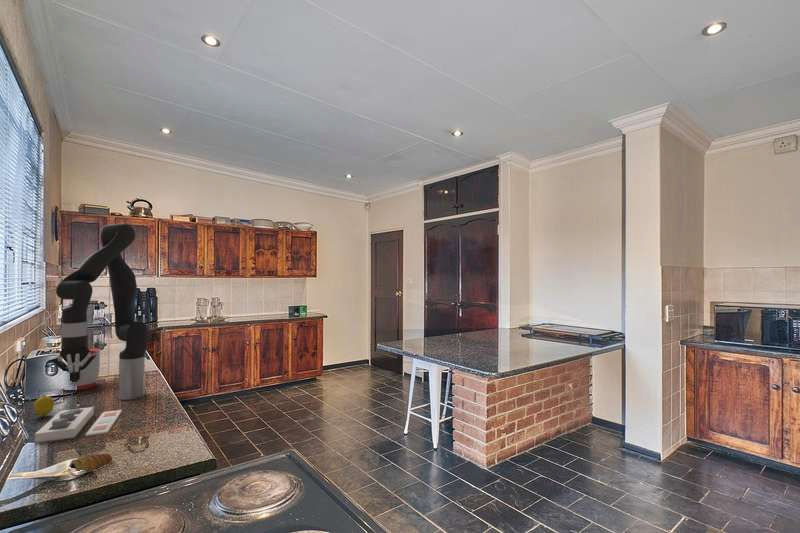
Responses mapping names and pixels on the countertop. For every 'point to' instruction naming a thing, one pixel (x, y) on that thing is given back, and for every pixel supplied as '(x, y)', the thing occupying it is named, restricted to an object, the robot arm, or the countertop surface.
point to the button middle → (68, 415)
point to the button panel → (64, 433)
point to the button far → (77, 411)
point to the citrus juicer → (89, 371)
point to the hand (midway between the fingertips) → (74, 381)
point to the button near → (60, 423)
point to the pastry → (91, 462)
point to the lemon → (43, 405)
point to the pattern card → (104, 423)
